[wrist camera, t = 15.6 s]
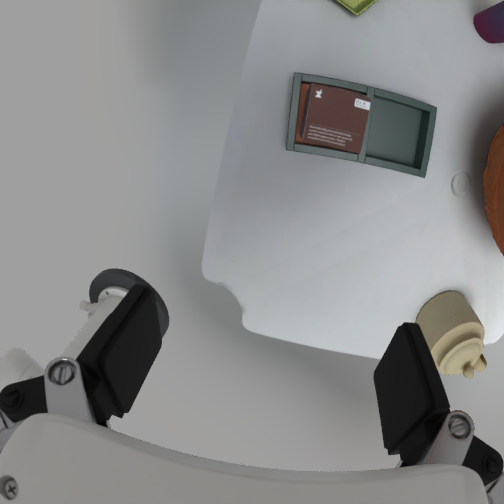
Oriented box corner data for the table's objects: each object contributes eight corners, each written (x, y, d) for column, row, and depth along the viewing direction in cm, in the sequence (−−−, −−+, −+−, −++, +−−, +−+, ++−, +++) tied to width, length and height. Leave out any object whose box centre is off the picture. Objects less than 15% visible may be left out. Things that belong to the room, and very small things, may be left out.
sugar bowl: (487, 291, 38) (526, 345, 25) (465, 336, 43) (492, 392, 30) (427, 289, 40) (462, 355, 26) (406, 338, 45) (427, 404, 32)
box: (298, 135, 32) (299, 140, 25) (307, 88, 29) (310, 81, 22) (347, 147, 31) (361, 155, 25) (357, 100, 28) (373, 97, 22)
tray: (286, 147, 33) (285, 150, 31) (293, 76, 29) (294, 72, 26) (415, 172, 32) (425, 178, 29) (426, 107, 28) (437, 107, 25)
